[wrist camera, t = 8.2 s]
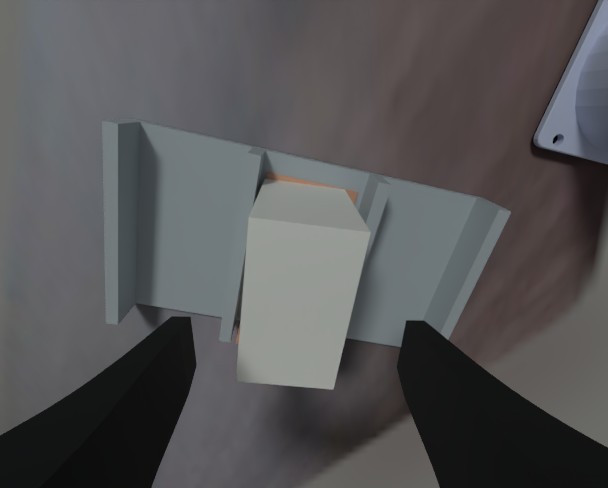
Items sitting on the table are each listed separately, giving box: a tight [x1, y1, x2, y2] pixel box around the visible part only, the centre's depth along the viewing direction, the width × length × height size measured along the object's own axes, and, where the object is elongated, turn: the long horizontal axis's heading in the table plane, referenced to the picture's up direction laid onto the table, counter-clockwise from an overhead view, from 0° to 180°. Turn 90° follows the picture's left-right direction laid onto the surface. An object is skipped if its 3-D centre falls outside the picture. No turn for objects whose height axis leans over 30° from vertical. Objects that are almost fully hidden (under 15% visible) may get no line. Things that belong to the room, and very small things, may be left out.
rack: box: [102, 118, 511, 347], centre depth 17 cm, size 18×10×2 cm, turn 77°
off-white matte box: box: [236, 179, 371, 390], centre depth 14 cm, size 4×7×6 cm, turn 172°
